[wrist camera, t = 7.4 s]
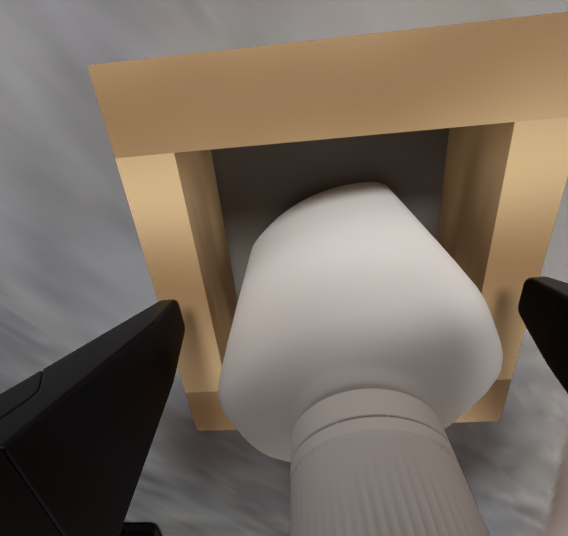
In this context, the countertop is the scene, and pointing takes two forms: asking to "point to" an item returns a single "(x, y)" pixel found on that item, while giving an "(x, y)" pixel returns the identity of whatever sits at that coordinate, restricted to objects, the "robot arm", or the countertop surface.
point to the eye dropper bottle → (360, 366)
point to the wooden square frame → (343, 162)
